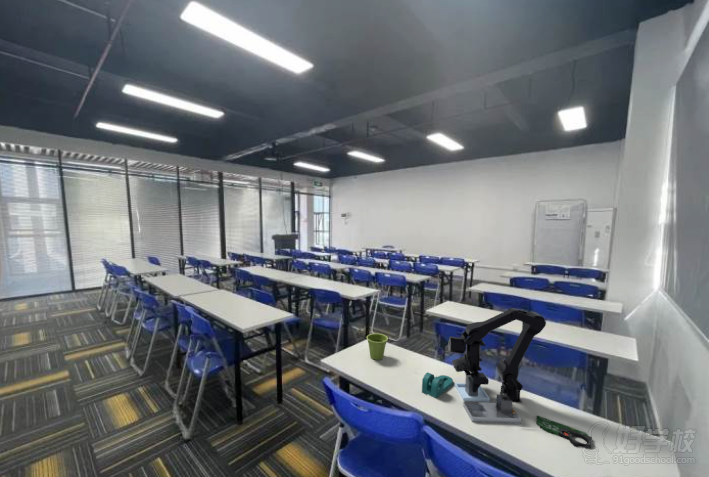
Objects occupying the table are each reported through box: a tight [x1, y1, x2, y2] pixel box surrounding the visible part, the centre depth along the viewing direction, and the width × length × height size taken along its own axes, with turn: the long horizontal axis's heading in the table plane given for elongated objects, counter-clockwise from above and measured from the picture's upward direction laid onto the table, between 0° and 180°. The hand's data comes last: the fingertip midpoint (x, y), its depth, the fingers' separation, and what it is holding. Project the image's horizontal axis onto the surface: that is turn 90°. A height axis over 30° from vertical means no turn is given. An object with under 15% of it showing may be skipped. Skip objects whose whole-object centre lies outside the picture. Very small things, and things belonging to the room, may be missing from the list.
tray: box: [453, 382, 491, 403], centre depth 123 cm, size 11×11×2 cm
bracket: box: [421, 372, 454, 399], centre depth 127 cm, size 18×7×8 cm, turn 134°
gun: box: [535, 415, 593, 450], centre depth 101 cm, size 16×2×10 cm
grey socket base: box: [462, 392, 522, 425], centre depth 109 cm, size 18×9×9 cm, turn 89°
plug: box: [464, 373, 478, 396], centre depth 123 cm, size 4×4×9 cm
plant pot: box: [366, 333, 389, 361], centre depth 156 cm, size 12×12×11 cm
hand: (471, 388), depth 123 cm, fingers open, 5 cm apart
